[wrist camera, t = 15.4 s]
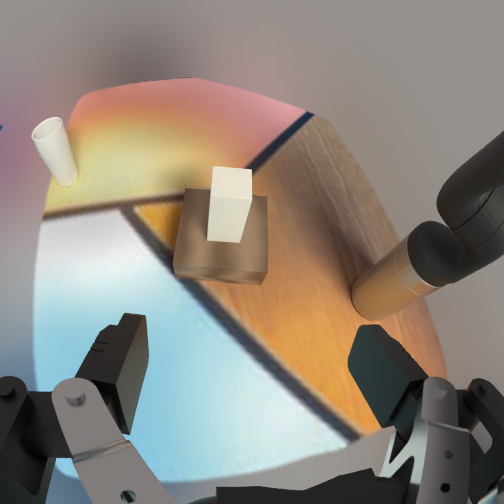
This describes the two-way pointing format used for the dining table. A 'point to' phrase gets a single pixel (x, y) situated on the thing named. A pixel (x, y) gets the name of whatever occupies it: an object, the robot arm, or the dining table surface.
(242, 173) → the offwhite block
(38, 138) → the drinking glass
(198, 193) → the walnut box
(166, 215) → the dining table surface
